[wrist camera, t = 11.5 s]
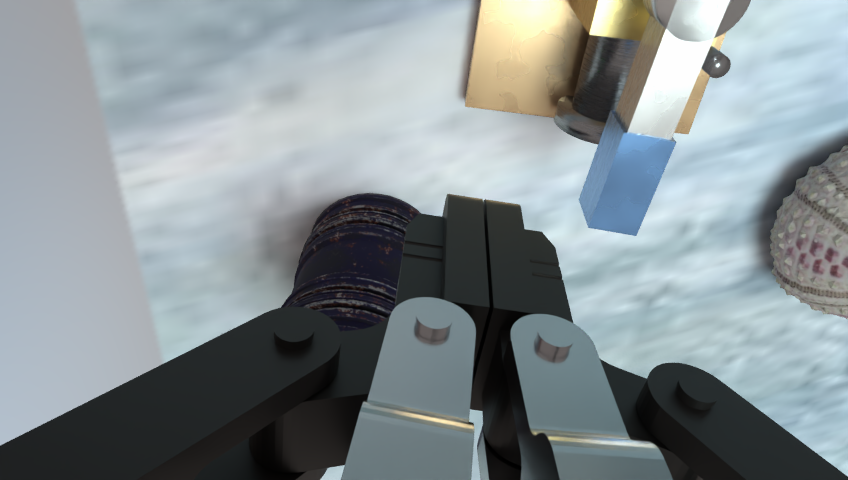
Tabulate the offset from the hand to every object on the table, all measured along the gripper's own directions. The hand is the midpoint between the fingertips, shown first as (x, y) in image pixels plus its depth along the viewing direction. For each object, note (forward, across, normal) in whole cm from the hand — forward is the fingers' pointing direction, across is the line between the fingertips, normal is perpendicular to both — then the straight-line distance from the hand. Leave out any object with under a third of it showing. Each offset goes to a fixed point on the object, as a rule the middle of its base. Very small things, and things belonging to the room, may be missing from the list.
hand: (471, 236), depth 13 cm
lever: (+18, -9, +1) cm, 20 cm away
